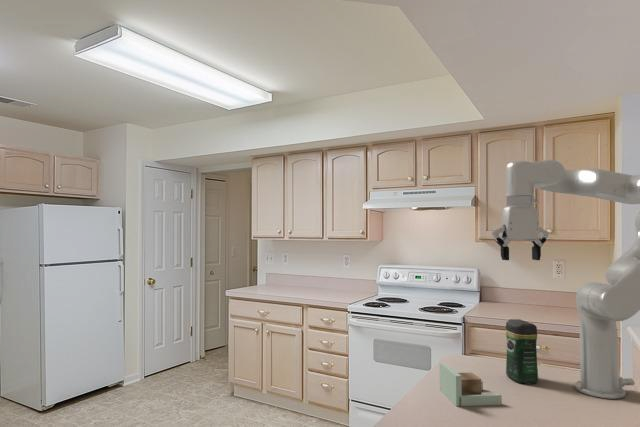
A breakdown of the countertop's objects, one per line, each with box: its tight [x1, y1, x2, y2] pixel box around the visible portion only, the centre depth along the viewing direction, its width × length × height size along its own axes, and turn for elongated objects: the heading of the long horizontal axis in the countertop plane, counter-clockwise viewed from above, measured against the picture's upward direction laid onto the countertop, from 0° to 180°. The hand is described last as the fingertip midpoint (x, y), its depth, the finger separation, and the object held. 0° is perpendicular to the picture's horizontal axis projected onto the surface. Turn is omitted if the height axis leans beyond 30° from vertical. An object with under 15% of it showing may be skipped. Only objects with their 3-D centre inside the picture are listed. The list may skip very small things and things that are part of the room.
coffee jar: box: [505, 318, 539, 385], centre depth 141 cm, size 10×8×19 cm
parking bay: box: [439, 362, 503, 407], centre depth 125 cm, size 13×12×8 cm
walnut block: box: [457, 371, 483, 395], centre depth 125 cm, size 6×6×6 cm
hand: (520, 260), depth 133 cm, fingers open, 9 cm apart
